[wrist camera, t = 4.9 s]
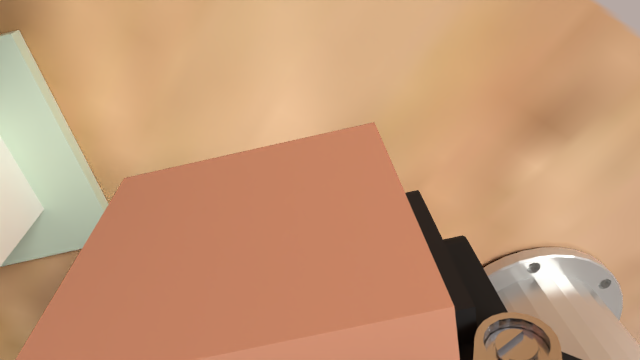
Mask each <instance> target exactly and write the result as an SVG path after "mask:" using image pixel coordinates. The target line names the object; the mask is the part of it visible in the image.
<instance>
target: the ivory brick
mask: <svg viewBox="0 0 640 360" xmlns="http://www.w3.org/2000/svg"><path fill="white" fill-rule="evenodd" d="M43 210H44V208H43V206H42V205H41V203H40V201H39V200H38V198H37V196H36V195H35V193H34V191H33V190H32V188H31V186H30V185H29V183H28V181H27V179H26V178H25V176H24V174H23V173H22V171H21V169H20V168H19V166H18V164H17V163H16V161H15V159H14V158H13V156H12V154H11V153H10V151H9V149H8V148H7V146H6V144H5V143H4V141H3V139H2V138H1V136H0V266H1V265H2V264H3V262H4V261H5V260H6V258H7V257H8V256H9V255H10V253H11V252H12V251H13V249H14V248H15V247H16V245H17V244H18V243H19V241H20V240H21V239H22V238H23V236H24V235H25V234H26V232H27V231H28V230H29V228H30V227H31V226H32V224H33V223H34V222H35V221H36V219H37V218H38V217H39V215H40V214H41V213H42V211H43Z"/></svg>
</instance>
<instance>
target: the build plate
mask: <svg viewBox="0 0 640 360" xmlns="http://www.w3.org/2000/svg"><path fill="white" fill-rule="evenodd" d="M0 136H1V138H2V139H3V141H4V143H5V144H6V146H7V148H8V149H9V151H10V153H11V154H12V156H13V158H14V159H15V161H16V163H17V164H18V166H19V168H20V169H21V171H22V173H23V174H24V176H25V178H26V179H27V181H28V183H29V185H30V186H31V188H32V190H33V191H34V193H35V195H36V196H37V198H38V200H39V201H40V203H41V205H42V206H43V208H44V210H43V211H42V213H41V214H40V215H39V217H38V218H37V219H36V221H35V222H34V223H33V224H32V226H31V227H30V228H29V230H28V231H27V232H26V234H25V235H24V236H23V238H22V239H21V240H20V241H19V243H18V244H17V245H16V247H15V248H14V249H13V251H12V252H11V253H10V255H9V256H8V257H7V258H6V260H5V261H4V262H3V264H2V265H1V266H0V267H2V266H6V265H11V264H15V263H20V262H24V261H29V260H33V259H38V258H42V257H47V256H51V255H56V254H60V253H64V252H69V251H73V250H78V249H82V248H83V246H84V244H85V243H86V241H87V239H88V238H89V236H90V234H91V233H92V231H93V229H94V228H95V226H96V224H97V223H98V221H99V219H100V218H101V216H102V214H103V213H104V211H105V209H106V208H107V206H108V202H107V200H106V198H105V196H104V194H103V192H102V190H101V188H100V186H99V185H98V183H97V181H96V179H95V177H94V175H93V173H92V171H91V169H90V167H89V165H88V163H87V161H86V159H85V157H84V155H83V153H82V151H81V150H80V148H79V146H78V144H77V142H76V140H75V138H74V136H73V134H72V132H71V130H70V128H69V126H68V124H67V122H66V120H65V118H64V116H63V115H62V113H61V111H60V109H59V107H58V105H57V103H56V101H55V99H54V97H53V95H52V93H51V91H50V89H49V87H48V85H47V83H46V81H45V80H44V78H43V76H42V74H41V72H40V70H39V68H38V66H37V64H36V62H35V60H34V58H33V56H32V54H31V52H30V50H29V48H28V46H27V45H26V43H25V41H24V39H23V37H22V35H21V33H20V31H19V30H16V31H12V32H8V33H4V34H0Z"/></svg>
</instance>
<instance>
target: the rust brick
mask: <svg viewBox="0 0 640 360" xmlns="http://www.w3.org/2000/svg"><path fill="white" fill-rule="evenodd" d="M15 360H460V356H459V346H458V337H457V327H456V317H455V308H454V305H453V302H452V300H451V298H450V295H449V293H448V291H447V288H446V286H445V284H444V282H443V279H442V277H441V275H440V272H439V270H438V268H437V265H436V263H435V261H434V259H433V256H432V254H431V252H430V249H429V247H428V245H427V242H426V240H425V238H424V236H423V233H422V231H421V229H420V226H419V224H418V222H417V219H416V217H415V215H414V213H413V210H412V208H411V206H410V203H409V201H408V199H407V196H406V194H405V192H404V190H403V187H402V185H401V183H400V180H399V178H398V176H397V173H396V171H395V169H394V167H393V164H392V162H391V160H390V157H389V155H388V153H387V150H386V148H385V146H384V143H383V141H382V139H381V137H380V134H379V132H378V130H377V127H376V125H375V123H374V122H373V123H368V124H364V125H360V126H355V127H351V128H346V129H342V130H337V131H333V132H328V133H324V134H319V135H315V136H310V137H306V138H302V139H297V140H293V141H288V142H284V143H279V144H275V145H270V146H266V147H261V148H257V149H252V150H248V151H243V152H239V153H235V154H230V155H226V156H221V157H217V158H212V159H208V160H203V161H199V162H194V163H190V164H185V165H181V166H176V167H172V168H168V169H163V170H159V171H154V172H150V173H145V174H141V175H136V176H132V177H127V178H124V180H123V181H122V183H121V185H120V186H119V188H118V189H117V191H116V193H115V194H114V196H113V198H112V199H111V201H110V203H109V204H108V206H107V208H106V209H105V211H104V213H103V214H102V216H101V218H100V219H99V221H98V223H97V224H96V226H95V228H94V229H93V231H92V233H91V234H90V236H89V238H88V239H87V241H86V243H85V244H84V246H83V248H82V249H81V251H80V253H79V254H78V256H77V258H76V259H75V261H74V263H73V264H72V266H71V268H70V269H69V271H68V273H67V274H66V276H65V278H64V279H63V281H62V283H61V284H60V286H59V288H58V289H57V291H56V293H55V294H54V296H53V298H52V299H51V301H50V303H49V304H48V306H47V308H46V309H45V311H44V313H43V314H42V316H41V318H40V319H39V321H38V323H37V324H36V326H35V328H34V329H33V331H32V333H31V334H30V336H29V338H28V339H27V341H26V343H25V344H24V346H23V348H22V349H21V351H20V353H19V354H18V356H17V358H16V359H15Z"/></svg>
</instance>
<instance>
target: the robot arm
mask: <svg viewBox="0 0 640 360" xmlns="http://www.w3.org/2000/svg"><path fill="white" fill-rule="evenodd" d="M405 194H406V196H407V199H408V201H409V203H410V206H411V208H412V210H413V213H414V215H415V217H416V219H417V222H418V224H419V226H420V229H421V231H422V233H423V236H424V238H425V240H426V242H427V245H428V247H429V249H430V252H431V254H432V256H433V259H434V261H435V263H436V265H437V268H438V270H439V272H440V275H441V277H442V279H443V282H444V284H445V286H446V288H447V291H448V293H449V295H450V298H451V300H452V302H453V305H454V308H455V317H456V327H457V337H458V346H459V356H460V360H640V345H639V344H638V343H637V342H636V340H635V339H634V338H633V337H632V336H631V334H630V333H629V332H628V331H627V330H626V328H625V327H624V326H623V325H622V323H621V322H620V321H619V320H620V316H621V313H622V309H623V295H622V291H621V288H620V284H619V283H618V281H617V280H616V278H615V277H614V275H613V274H612V273H611V272H610V271H609V270H608V269H607V268H606V267H605V266H604V264H603V263H602V262H600V261H599V260H597V259H596V258H594V257H593V256H591V255H590V254H587V253H584V252H581V251H578V250H575V249H569V248H562V247H542V248H536V249H530V250H524V251H521V252H518V253H515V254H511V255H508V256H505V257H503V258H501V259H499V260H497V261H495V262H493V263H491V264H489V265H487V266H485V267H484V268H483V267H482V265H481V263H480V261H479V260H478V258H477V256H476V254H475V253H474V251H473V249H472V247H471V245H470V244H469V242H468V240H467V239H466V237H465V236H458V237H453V238H449V239H444V240H443V239H442V237H441V235H440V233H439V231H438V229H437V227H436V225H435V223H434V221H433V219H432V217H431V214H430V212H429V210H428V208H427V206H426V204H425V202H424V200H423V198H422V196H421V194H420V192H419V191H418V190H417V191H412V192H407V193H405Z"/></svg>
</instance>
